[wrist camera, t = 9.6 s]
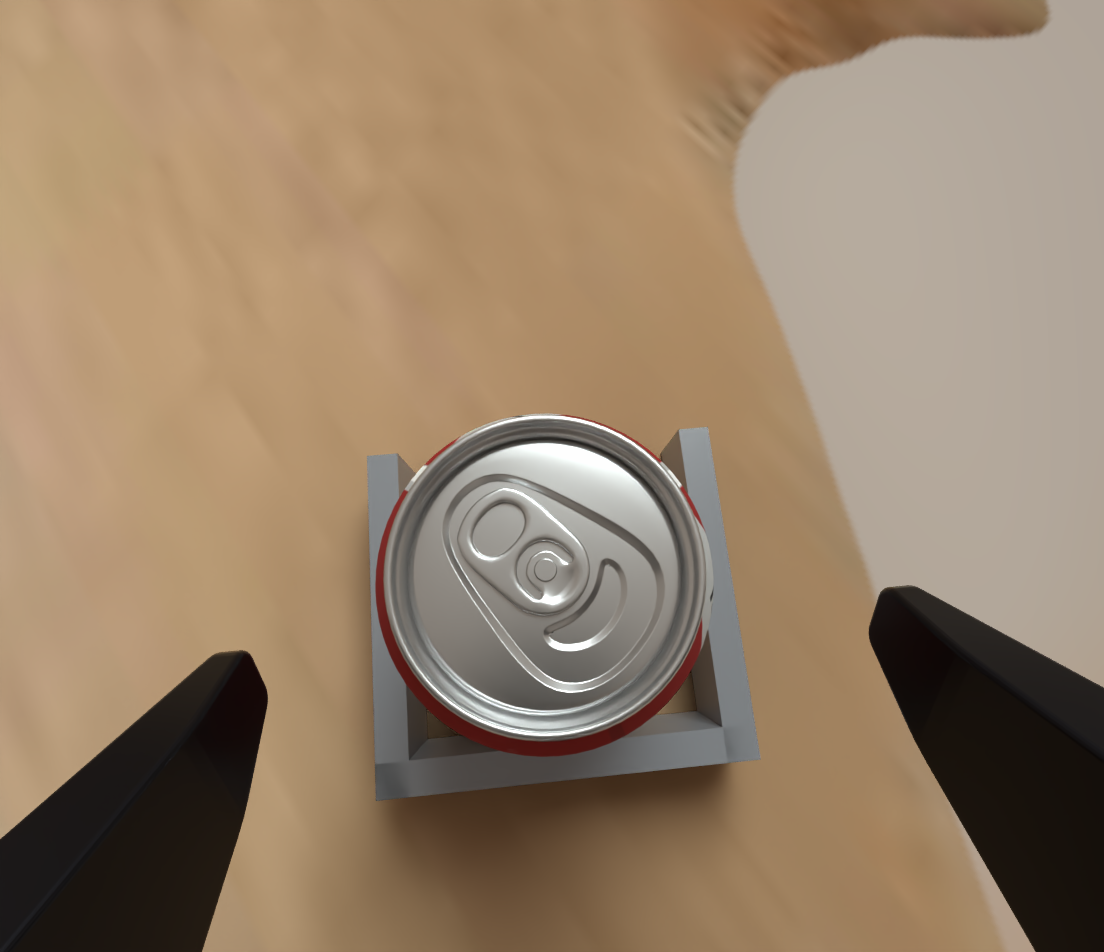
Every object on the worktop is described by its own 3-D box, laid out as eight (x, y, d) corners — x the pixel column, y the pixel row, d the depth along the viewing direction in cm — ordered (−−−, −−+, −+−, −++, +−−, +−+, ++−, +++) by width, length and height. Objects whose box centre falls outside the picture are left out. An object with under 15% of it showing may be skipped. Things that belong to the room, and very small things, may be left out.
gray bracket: (729, 738, 21) (760, 759, 18) (399, 773, 20) (375, 801, 17) (686, 450, 23) (707, 427, 20) (389, 476, 22) (367, 455, 20)
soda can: (553, 728, 21) (569, 885, 9) (413, 600, 22) (259, 589, 10) (672, 580, 22) (822, 546, 10) (535, 464, 23) (526, 311, 11)
